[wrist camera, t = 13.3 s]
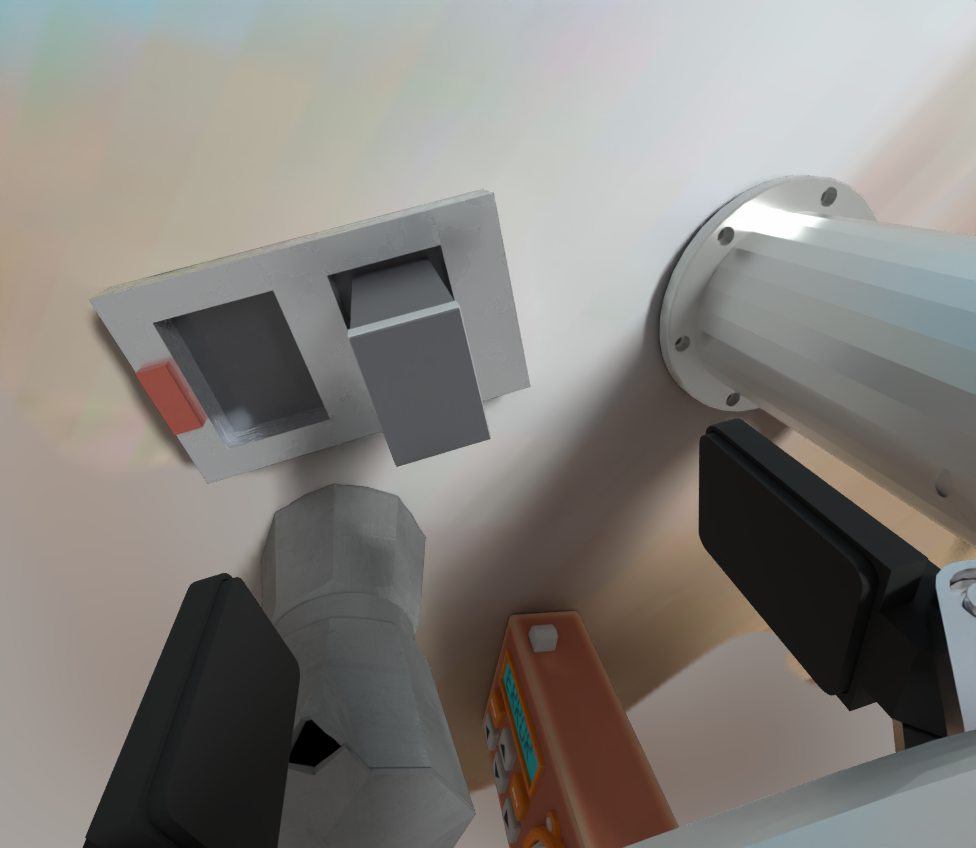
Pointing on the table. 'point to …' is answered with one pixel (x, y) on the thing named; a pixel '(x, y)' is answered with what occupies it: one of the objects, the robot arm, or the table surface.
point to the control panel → (566, 743)
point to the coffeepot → (360, 678)
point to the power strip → (303, 332)
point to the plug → (416, 361)
